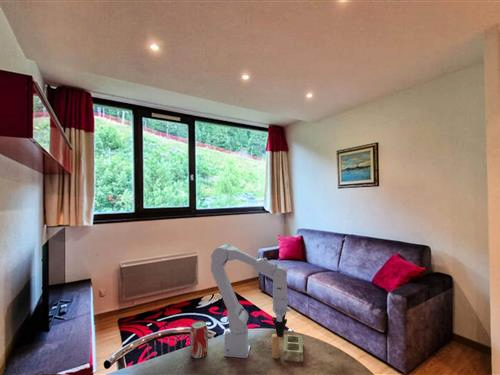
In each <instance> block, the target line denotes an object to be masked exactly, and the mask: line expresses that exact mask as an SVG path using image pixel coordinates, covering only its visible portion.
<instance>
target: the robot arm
mask: <svg viewBox="0 0 500 375" xmlns="http://www.w3.org/2000/svg"><path fill="white" fill-rule="evenodd" d="M210 258H211V262H210V263H211V264H210V272H211V274H212V276H213V278H214V280H215V284H216V285H217V288H218V290H219V293H220V295H221V298H222V300H223V303H224V305H225V307H226V310H227V315H226V316H227V320H228V327H227V328H226V329H225V333H224V355H223V356H224V357H231V358H242V359H243V358H244V359H248V356H249V353H250V349H251V345H250V344H249V327H248V325H247V322H248V321H249V313H248V311H247V310H246V309H244V306H243V304H241V303H239V300H238V298H237V295H236V293H235V290H234V288H233V286H232V284H231V282H230V279H229V277H228V275H227V273H226V269H225V267H226V266H227V263H228V261H235V260H237V261H239V262H243V263H245V264H247V265H249V266H252V267H254V270H255V271H256V272H258V273H260V274H262V275H263V276H265V277H268V278H269V279H270V278H271V280H272V281H273V282H272V283H273V284H272V311H273V313H274V315H275V316H276V317H274V316H273V317H272V319H271V321H272V323H273V325H274V327H275V328H274V329H275V331H276V333H275V334H277V337H279V338H284V334H285V333H284V332H285V327H286V325H287V322H288V318H286V314H287V312H291V307H290V306H288V281H287V276H288V270H287V268H286V267H285V266H284V265H283V264H278V263H273V262H272V261H270V260H268V258H267V257H260V258H256V257H254V256H252V255H251V254H249V253H247V252H245V251H243V250H241V249H239V248H237V247H236V246H235V245H231V244H229V243H224V244H222V245H221V246H219V247H216V248H214V250H213V251H212V253H211V256H210Z"/></svg>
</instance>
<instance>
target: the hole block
mask: <svg viewBox="0 0 500 375" xmlns="http://www.w3.org/2000/svg"><path fill="white" fill-rule="evenodd" d="M303 345H304V344H303V335H300V334H299V335H298V334H297V335H296V334H285V333H284V334H283V361H287V362H300V363H301V362H302V363H304V349H303V348H304V346H303Z"/></svg>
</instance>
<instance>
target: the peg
mask: <svg viewBox="0 0 500 375" xmlns="http://www.w3.org/2000/svg"><path fill="white" fill-rule="evenodd" d="M271 358H272V359H274V360H277V359H279V358H280V337H277V333H273V334H271Z"/></svg>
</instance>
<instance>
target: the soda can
mask: <svg viewBox="0 0 500 375" xmlns="http://www.w3.org/2000/svg"><path fill="white" fill-rule="evenodd" d="M208 330H209V329H208V326H207V322H206V321H203V320H197V321H195V322H193V323H192V324H191V328H190V330H189V332H190V335H189V338H190V339H189V342H190V343H189V344H190V345H189V350H190V356H191V357H192V358H195V359H201V358H204V357H205V356H206V355H207V354H208V350H209V341H208V340H209V334H208Z"/></svg>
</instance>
